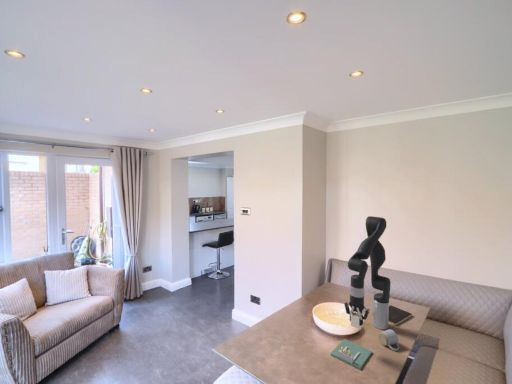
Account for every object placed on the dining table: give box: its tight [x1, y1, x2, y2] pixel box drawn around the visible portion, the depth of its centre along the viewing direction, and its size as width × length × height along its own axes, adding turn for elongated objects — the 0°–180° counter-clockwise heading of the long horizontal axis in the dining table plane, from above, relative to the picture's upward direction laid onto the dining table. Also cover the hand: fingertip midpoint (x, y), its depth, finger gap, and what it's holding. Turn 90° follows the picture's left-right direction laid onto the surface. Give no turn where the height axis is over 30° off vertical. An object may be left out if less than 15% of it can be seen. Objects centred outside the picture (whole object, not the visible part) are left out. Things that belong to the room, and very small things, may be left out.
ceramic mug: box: [378, 328, 400, 352], centre depth 149 cm, size 11×8×8 cm
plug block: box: [350, 312, 361, 329], centre depth 145 cm, size 5×4×6 cm
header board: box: [330, 338, 373, 370], centre depth 141 cm, size 18×16×6 cm
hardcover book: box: [388, 304, 413, 326], centre depth 183 cm, size 16×23×2 cm
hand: (356, 323), depth 145 cm, fingers closed on plug block, 4 cm apart
